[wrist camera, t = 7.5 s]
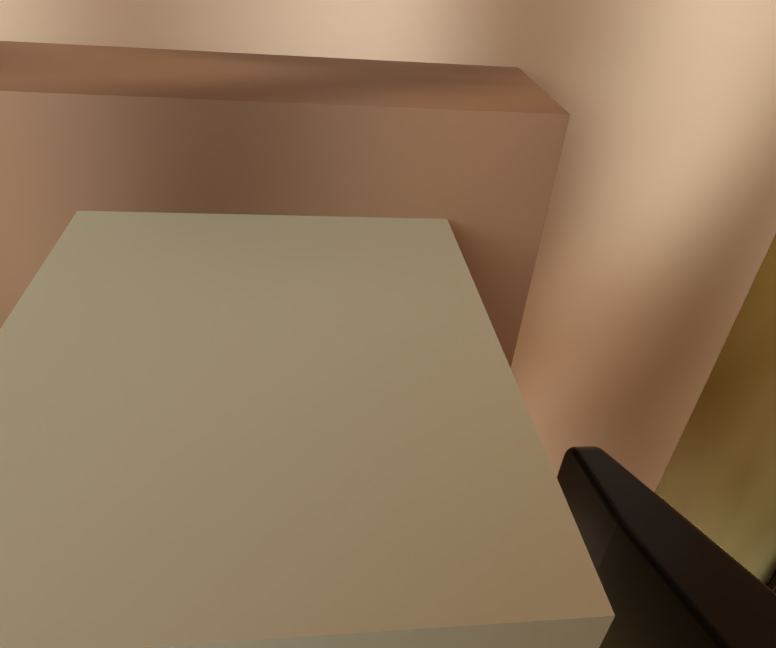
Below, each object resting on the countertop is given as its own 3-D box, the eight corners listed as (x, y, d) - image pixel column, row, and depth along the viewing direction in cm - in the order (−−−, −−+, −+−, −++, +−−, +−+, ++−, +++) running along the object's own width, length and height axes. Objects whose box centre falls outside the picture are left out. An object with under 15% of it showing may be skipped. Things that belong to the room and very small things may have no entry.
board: (925, -203, 10) (982, -209, 9) (577, 607, 22) (588, 635, 22) (-64, -323, 8) (-106, -345, 7) (162, 635, 20) (156, 666, 20)
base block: (517, 67, 10) (570, 115, 8) (453, 422, 15) (477, 508, 13) (-7, 39, 9) (-90, 87, 7) (95, 432, 14) (61, 527, 12)
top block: (447, 219, 9) (615, 615, 4) (412, 462, 12) (489, 865, 7) (77, 210, 8) (-225, 672, 4) (133, 471, 11) (8, 923, 6)
